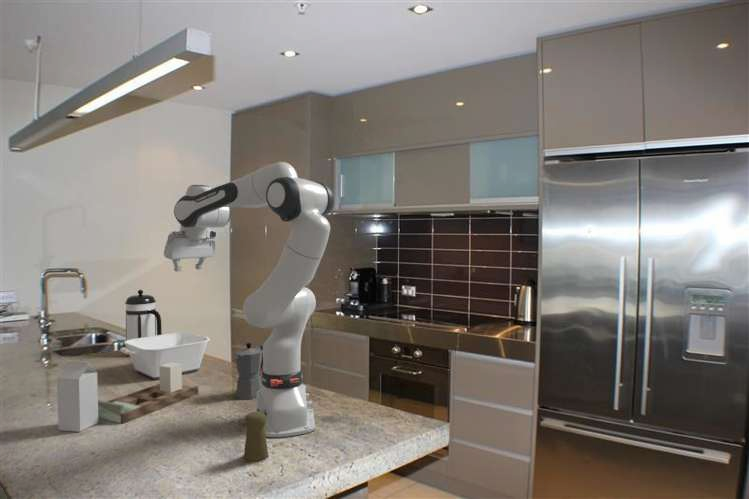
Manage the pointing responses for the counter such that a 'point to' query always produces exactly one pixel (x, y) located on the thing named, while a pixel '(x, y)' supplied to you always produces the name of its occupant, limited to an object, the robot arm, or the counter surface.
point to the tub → (166, 352)
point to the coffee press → (141, 317)
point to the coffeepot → (249, 371)
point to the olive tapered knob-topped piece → (255, 437)
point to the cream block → (170, 377)
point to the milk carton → (77, 397)
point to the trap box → (141, 403)
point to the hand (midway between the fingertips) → (188, 270)
